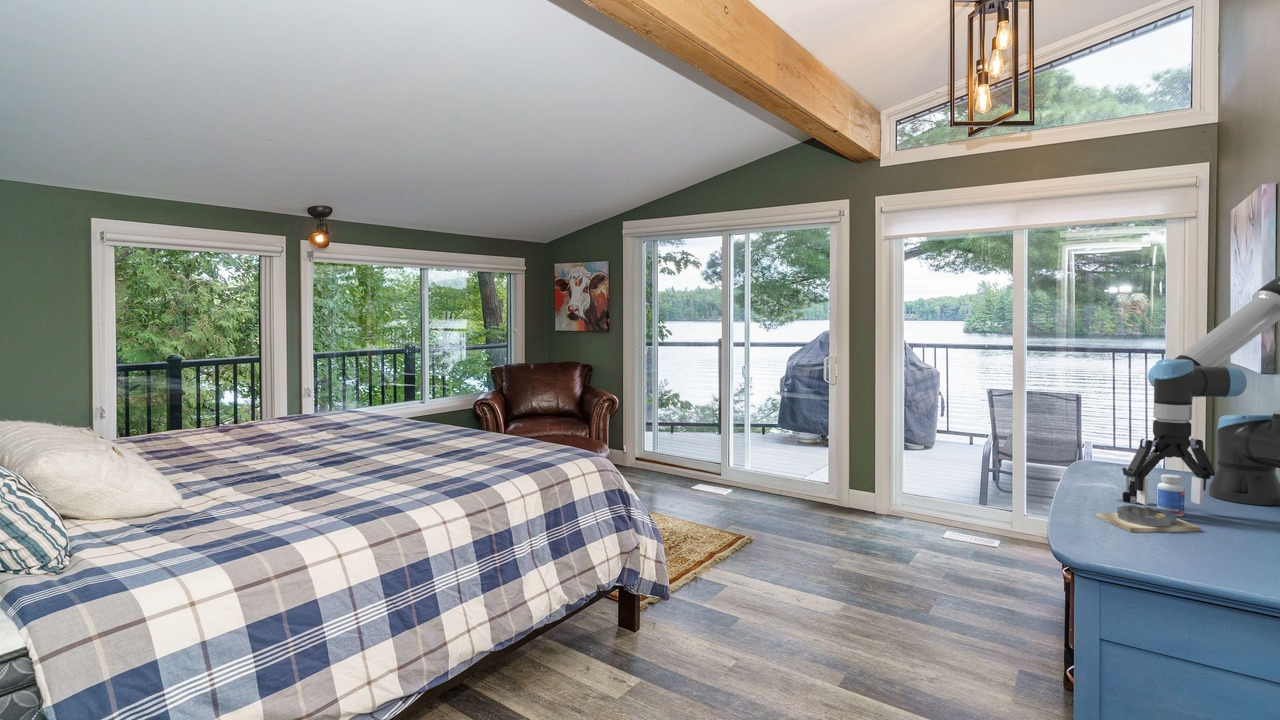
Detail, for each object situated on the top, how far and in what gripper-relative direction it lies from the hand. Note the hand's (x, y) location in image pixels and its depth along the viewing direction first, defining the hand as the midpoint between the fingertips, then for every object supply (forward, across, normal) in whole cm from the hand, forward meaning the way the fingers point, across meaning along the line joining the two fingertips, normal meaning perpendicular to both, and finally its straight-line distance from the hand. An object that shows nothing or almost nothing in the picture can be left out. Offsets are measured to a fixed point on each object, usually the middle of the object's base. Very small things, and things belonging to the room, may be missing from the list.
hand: (1169, 503), depth 164 cm
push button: (+3, +2, -11) cm, 11 cm away
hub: (+3, +12, +8) cm, 14 cm away
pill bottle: (+3, 0, 0) cm, 3 cm away
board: (+3, +12, +8) cm, 14 cm away
